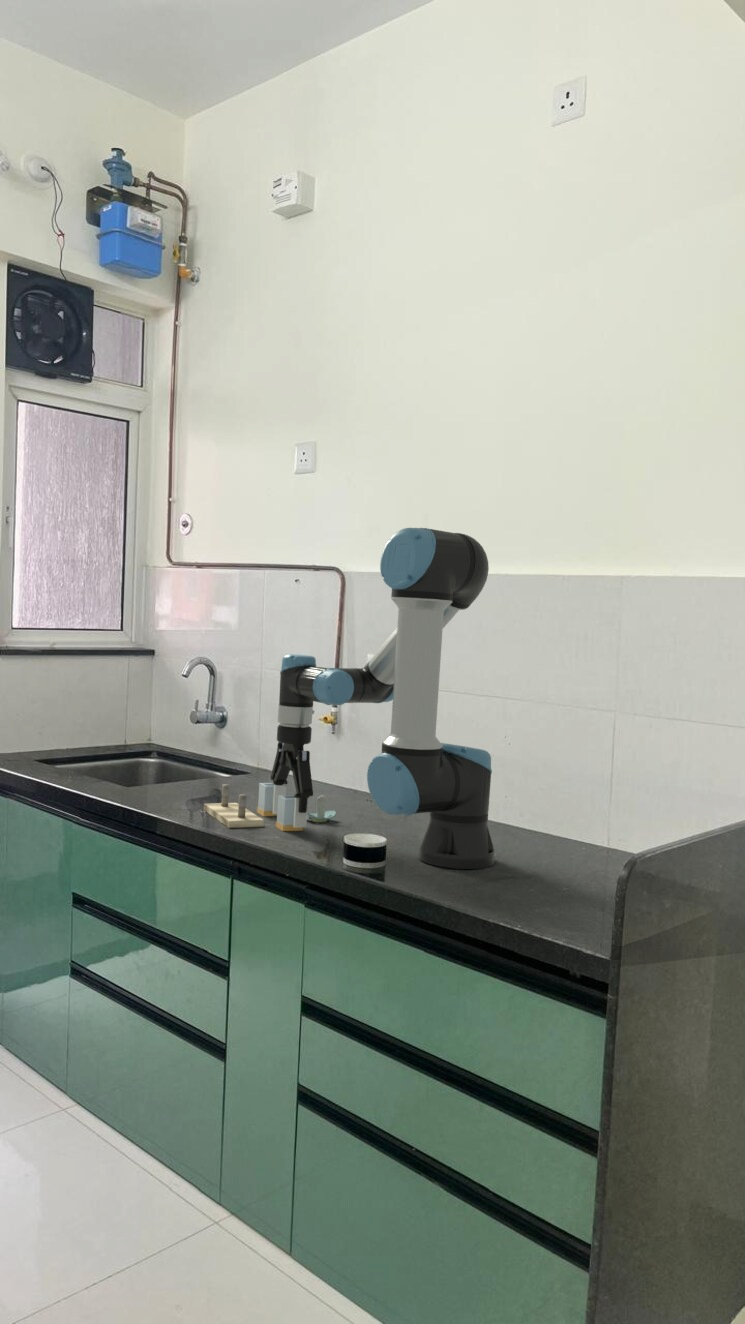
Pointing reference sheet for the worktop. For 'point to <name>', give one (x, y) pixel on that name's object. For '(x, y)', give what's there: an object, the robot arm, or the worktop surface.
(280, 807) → the sleeve
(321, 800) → the pacifier
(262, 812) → the sleeve
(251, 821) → the pin board
